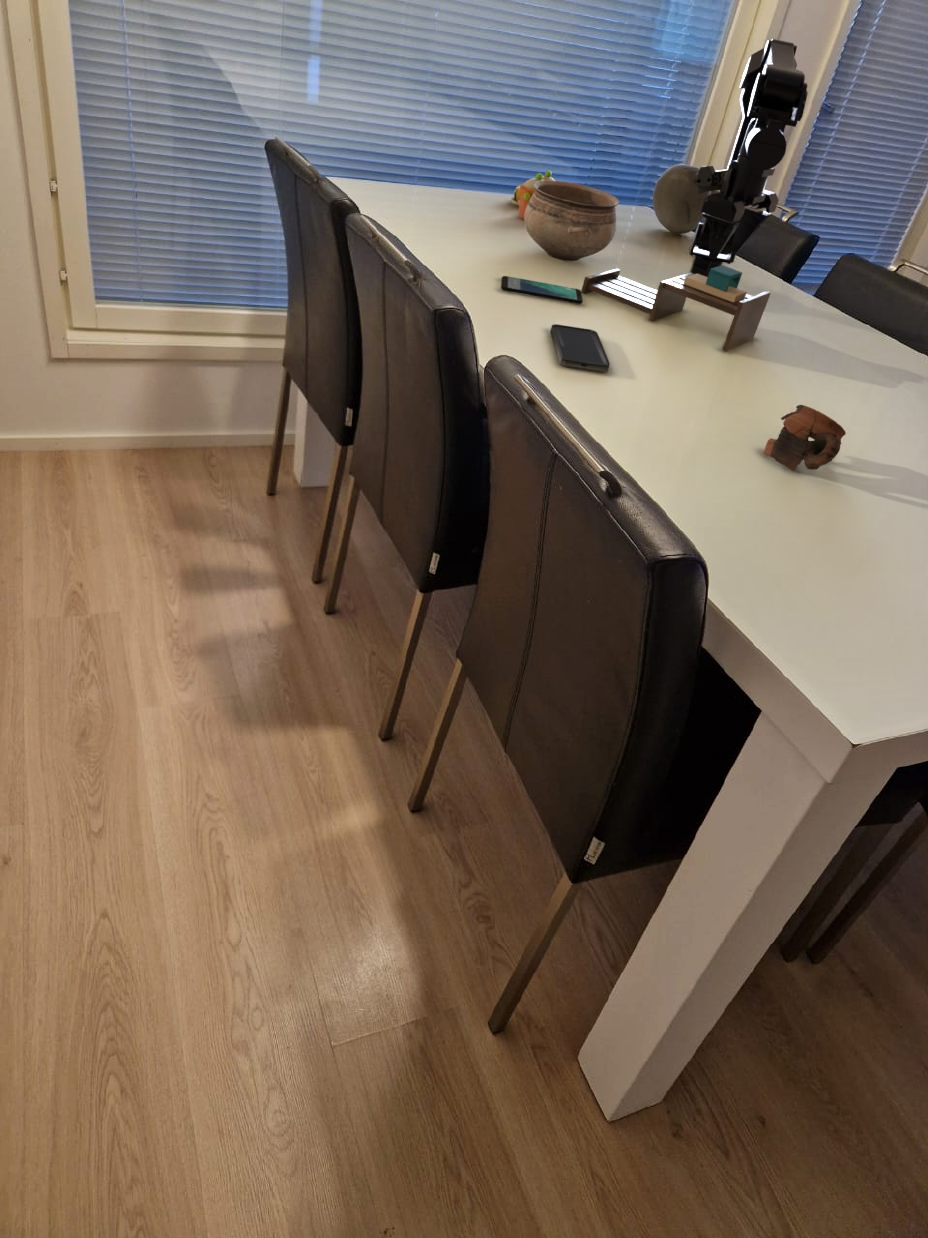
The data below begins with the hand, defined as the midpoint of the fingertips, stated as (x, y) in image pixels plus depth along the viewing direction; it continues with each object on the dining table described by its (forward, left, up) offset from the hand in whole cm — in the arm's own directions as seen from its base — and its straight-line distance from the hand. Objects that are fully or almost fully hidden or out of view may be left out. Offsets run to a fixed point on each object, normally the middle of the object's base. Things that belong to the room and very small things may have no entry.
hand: (723, 255), depth 153 cm
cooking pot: (-8, -37, -13) cm, 40 cm away
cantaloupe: (-57, -37, -13) cm, 69 cm away
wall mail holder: (+3, +2, -5) cm, 6 cm away
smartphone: (+17, -25, -12) cm, 33 cm away
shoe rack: (+3, -6, -12) cm, 14 cm away
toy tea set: (-33, -60, -13) cm, 70 cm away
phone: (+35, -5, -12) cm, 37 cm away
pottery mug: (+39, +35, -13) cm, 54 cm away
